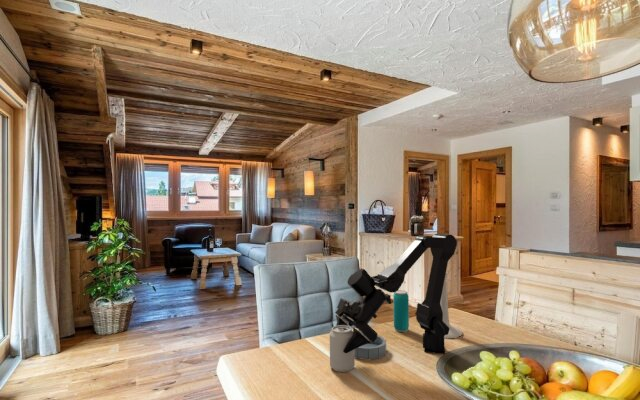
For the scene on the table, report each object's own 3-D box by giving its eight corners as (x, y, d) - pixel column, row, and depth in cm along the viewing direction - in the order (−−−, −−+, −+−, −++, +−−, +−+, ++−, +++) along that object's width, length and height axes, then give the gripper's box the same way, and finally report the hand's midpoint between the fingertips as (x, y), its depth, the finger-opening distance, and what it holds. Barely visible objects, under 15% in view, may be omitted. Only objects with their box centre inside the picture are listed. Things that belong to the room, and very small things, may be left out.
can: (357, 364, 109) (356, 325, 109) (351, 375, 102) (350, 333, 102) (334, 360, 111) (333, 322, 111) (326, 371, 104) (326, 330, 104)
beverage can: (407, 327, 140) (407, 290, 140) (410, 333, 134) (409, 293, 134) (393, 327, 141) (392, 290, 141) (394, 332, 135) (394, 293, 135)
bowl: (387, 345, 123) (387, 335, 123) (383, 361, 110) (383, 350, 110) (351, 341, 126) (351, 331, 126) (343, 356, 114) (343, 345, 114)
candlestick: (425, 336, 131) (424, 255, 132) (428, 325, 143) (427, 251, 143) (462, 340, 126) (460, 257, 127) (462, 329, 138) (461, 252, 139)
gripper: (340, 283, 117) (309, 320, 113) (367, 296, 99) (332, 341, 95) (361, 304, 120) (332, 341, 115) (392, 320, 102) (358, 365, 98)
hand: (337, 346), depth 106 cm, fingers open, 9 cm apart
